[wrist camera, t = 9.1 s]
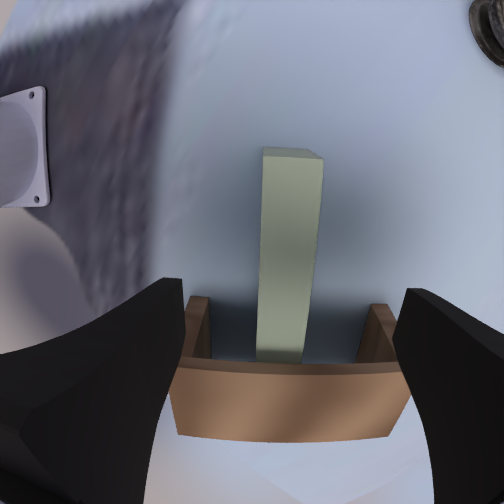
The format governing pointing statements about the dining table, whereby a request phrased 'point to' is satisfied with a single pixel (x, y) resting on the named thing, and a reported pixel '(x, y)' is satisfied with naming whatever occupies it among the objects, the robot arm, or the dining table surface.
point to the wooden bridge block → (288, 390)
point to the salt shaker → (489, 28)
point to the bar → (287, 251)
